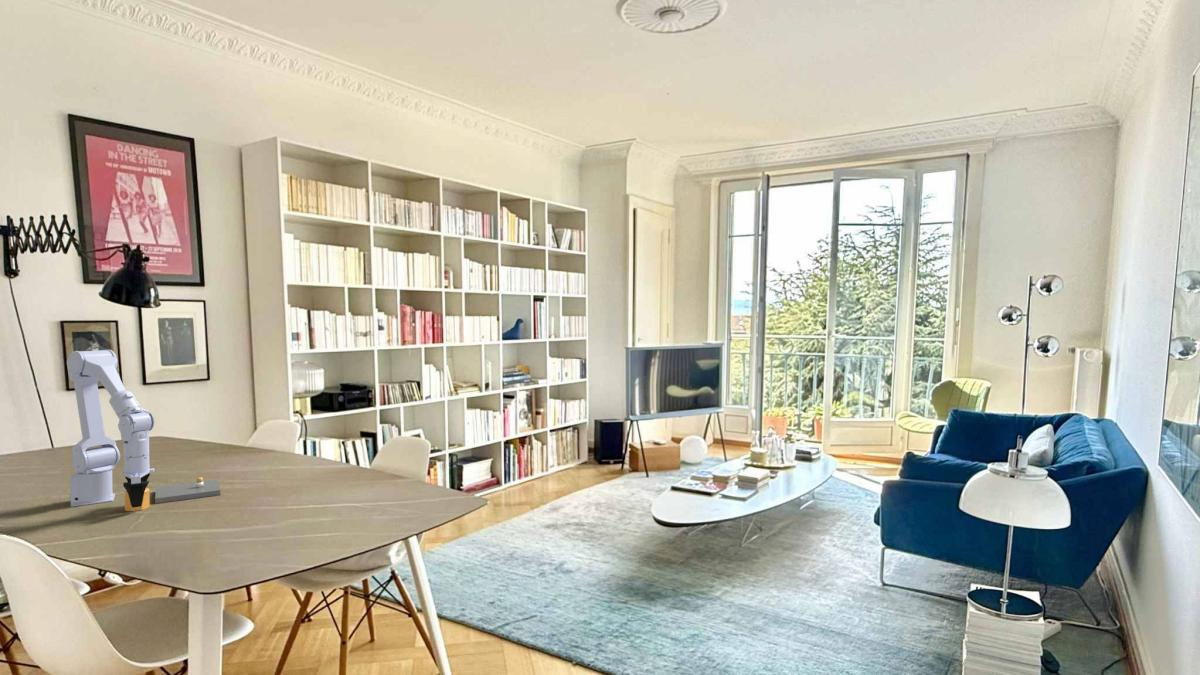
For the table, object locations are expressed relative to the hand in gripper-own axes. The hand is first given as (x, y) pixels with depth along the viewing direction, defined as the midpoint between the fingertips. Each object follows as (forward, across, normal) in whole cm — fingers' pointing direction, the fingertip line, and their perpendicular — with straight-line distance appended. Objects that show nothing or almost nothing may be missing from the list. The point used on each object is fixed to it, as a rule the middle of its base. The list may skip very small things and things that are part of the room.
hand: (137, 503), depth 172 cm
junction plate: (+1, +9, -12) cm, 15 cm away
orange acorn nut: (+1, 0, 0) cm, 1 cm away
